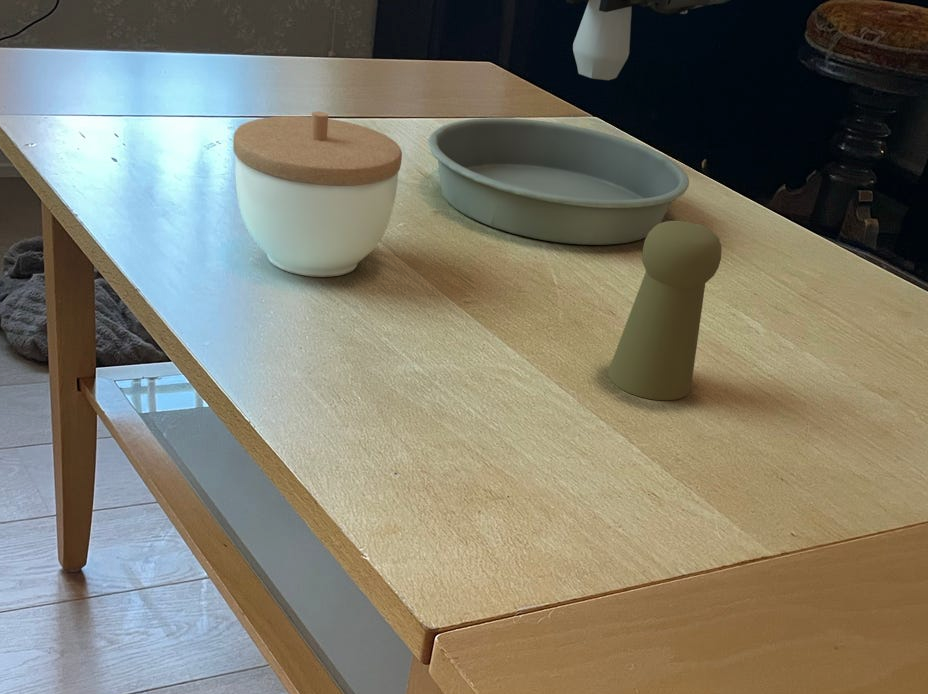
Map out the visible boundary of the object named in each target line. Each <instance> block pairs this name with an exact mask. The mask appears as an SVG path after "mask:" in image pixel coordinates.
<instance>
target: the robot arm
mask: <svg viewBox="0 0 928 694" xmlns="http://www.w3.org/2000/svg"><path fill="white" fill-rule="evenodd" d="M729 1H731V0H601V1H600V7H599V11H603V12H609V11H614V10H618V9H622V8H627V7H631V6H632V7H634V5H636V6H638V7H640V8H646V7H649V8H650V9H652V10H653V11H654V12H657V13H659V14H662V15H668V16H669V15H670V16H671V15H676V14H680V15H686V14H688V11H690V10H693V9H698V8H703V7H707V6H710V5H711V6H712V5H719V4H725V3H727V2H729ZM583 2H589V0H565V3H568V4H572V5H573V4H578V3H583Z"/></svg>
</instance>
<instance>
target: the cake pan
mask: <svg viewBox="0 0 928 694" xmlns="http://www.w3.org/2000/svg"><path fill="white" fill-rule="evenodd" d="M427 140H428V141H427V143H428V144H427V145H428V147H429V150H430V152H431V154H432V155H433V157H434V158H435V159H436V160H437V165H438V176H439V186H440V192H441V195H442V197H443V198H444V199H445V201H446V202H447V203H448V204H449V205H450V206H451V207H453V208H454V209H455V210H457V211H458V212H459V213H461V214H463V215H465V216H466V217H468V218H470V219H472V220H474V221H477V222H479V223H482V224H484V225H486V226H488V227H492V228H494V229H497V230H500V231H504V232H507V233H510V234H514V235H518V236H522V237H526V238H532V239H535V240H541V241H546V242H553V243H561V244H568V245H569V244H570V245H581V246H582V245H583V246H593V245H594V246H609V245H620V244H627V243H632V242H637V241H641V240H643V239H646V237H647V235H648V233H649V232H650V231H651V230H652V229H653V228H654V226H656V225H657V224H660V223H663V220H664V218H665V217H666V214H667V212H668V210H669V208H670V206H671V204H672V202H674V201H675V200H677V199H679V198H680V197H682V196H683V195H684V194H685V193H686V192H687V190H688V189H689V186H690V180H689V179H690V178H689V176H688V174H687V173H686V171H685V170H684V169H683V168H682V167H681V166H680V165H679V164H678V163H676V162H675V161H674V160H672V159H670V158H669V157H667V156H665V155H664V154H662V153H660V152H658V151H656V150H654V149H652V148H649V147H647V146H644V145H643V144H639V143H637V142H634V141H631V140H629V139H625V138H623V137H620V136H616V135H613V134H609V133H607V132H606V133H605V132H603V131H598V130H593V129H589V128H586V127H580V126H577V125H571V124H566V123H565V124H564V123H559V122H552V121H547V120H546V121H545V120H536V119H525V118H508V117H487V118H484V117H483V118H470V119H464V120H463V119H462V120H458V121H454V122H450V123H447V124H444V125H442V126H440V127H438V128H436V129H435V130H434V131H433V132H432V133H431V134H430V136H429V138H428V139H427Z"/></svg>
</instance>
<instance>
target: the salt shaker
mask: <svg viewBox="0 0 928 694" xmlns="http://www.w3.org/2000/svg"><path fill="white" fill-rule="evenodd" d="M600 1H601V0H589V1H587V5H586V8H585V10H584V13H583V16H582V19H581V21H580V24H579V27H578V30H577V32H576V36H575V37H574V40H573V44H572V51H573V56H574V59H575V63H576V67H577V73H578V75H581V76H583V77H586V78H589V79H593V80H601V81H602V80H603V81H610V80H614V79H617V78H618V76H619V74H620V73H621V70H622V69H623V67H624V65H625V63H626V62H627V60H628V58H629V55H630V44H631V24H632V23H631V22H632V7H633V6H631V7H627V8H622V9H618V10H614V11H609V12H603V11H599V7H600Z"/></svg>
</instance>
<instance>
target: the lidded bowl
mask: <svg viewBox="0 0 928 694" xmlns="http://www.w3.org/2000/svg"><path fill="white" fill-rule="evenodd" d="M232 138H233V139H232V142H233V144H232V145H233V146H232V147H233V148H232V149H233V152H234V176H235V177H234V179H235V180H234V181H235V189H236V190H235V191H236V197H237V203H238V207H239V212H240V214H241V217H242V221H243V222H244V225H245V228H246V229H247V232H248V233H249V235H250V236H251V238H252V240H254V242H255V243H256V244H257V245H258V247H259V248H260V249H261V250H262V251H263V252H264V253H265V254H266V255H267V256H266V257H267V260H268V261H269V263H271V264H272V265H273V266H275V267H276V268H278V269H280V270H283V271H286V272H288V273H291V274H295V275H300V276H304V277H305V276H306V277H313V278H327V277H328V278H329V277H339V276H342V275H347V274H349V273H351V272H353V271H354V270H355V269H356V268H357V267H358V263H360V261H362V260H363V259H365V258H367V256H368V255H369V254H371V252H373V251H374V250H375V248H376V247H377V245H378V244H379V243H380V241H381V240H382V239H383V237H384V235H385V233H386V231H387V229H388V226H389V223H390V220H391V218H392V214H393V211H394V210H393V209H394V206H395V201H396V196H397V190H398V189H397V188H398V182H399V181H398V180H399V171H400V170H401V166H402V160H403V151H402V149H401V147H400V146H399V144H398V143H397V142H396V141H395V140H393V139H392V138H390V137H389V136H387V135H386V134H384V133H381V132H379V131H377V130H374V129H372V128H369V127H367V126H363V125H360V124H355V123H353V122H348V121H343V120H338V119H334V118H333V119H332V118H329V113H328V112H325V111H312V112H311V116H304V115H281V116H269V117H263V118H257V119H254V120H250V121H247V122H245V123H242V124H241V125H240V126H238V127H237V129H235V130H234V133H233V137H232Z"/></svg>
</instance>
